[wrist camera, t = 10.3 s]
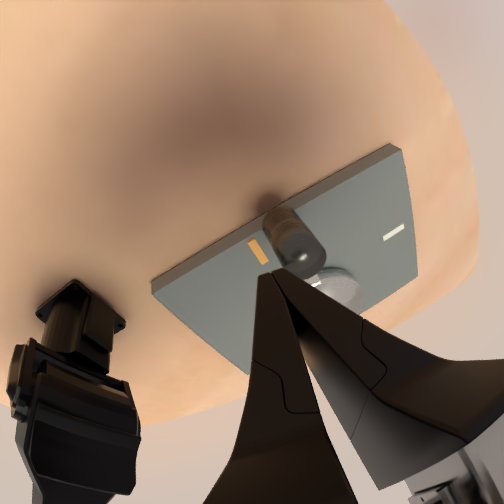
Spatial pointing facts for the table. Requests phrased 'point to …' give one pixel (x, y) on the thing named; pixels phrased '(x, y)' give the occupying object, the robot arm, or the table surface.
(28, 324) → the table surface
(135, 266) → the table surface
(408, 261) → the base plate
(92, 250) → the table surface
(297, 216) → the silver handled piece
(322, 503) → the robot arm
